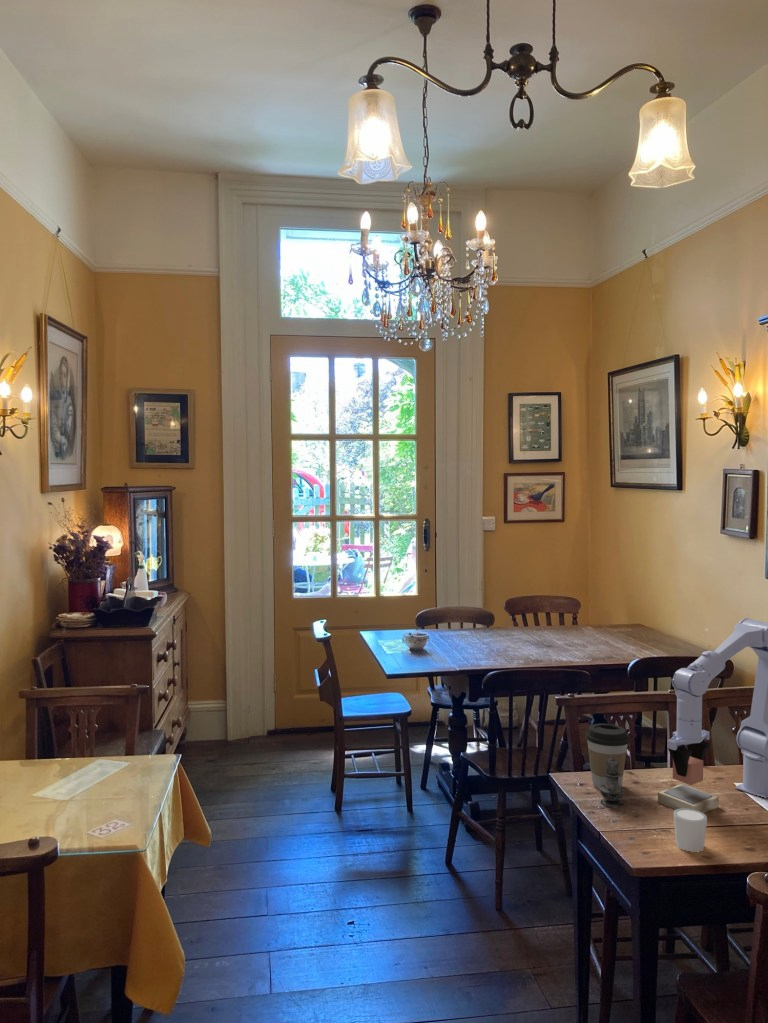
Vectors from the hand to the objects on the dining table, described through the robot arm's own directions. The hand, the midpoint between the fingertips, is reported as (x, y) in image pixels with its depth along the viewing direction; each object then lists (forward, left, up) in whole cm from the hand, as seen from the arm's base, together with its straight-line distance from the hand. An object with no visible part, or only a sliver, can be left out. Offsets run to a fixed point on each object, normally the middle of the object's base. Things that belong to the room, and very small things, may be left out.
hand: (688, 772), depth 183 cm
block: (0, 0, -2) cm, 2 cm away
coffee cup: (+7, -19, -8) cm, 22 cm away
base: (0, 0, -8) cm, 8 cm away
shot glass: (+19, +13, -8) cm, 24 cm away
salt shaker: (+15, -11, -8) cm, 20 cm away
